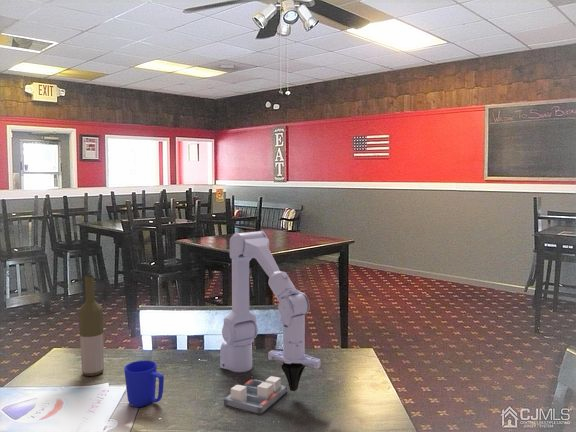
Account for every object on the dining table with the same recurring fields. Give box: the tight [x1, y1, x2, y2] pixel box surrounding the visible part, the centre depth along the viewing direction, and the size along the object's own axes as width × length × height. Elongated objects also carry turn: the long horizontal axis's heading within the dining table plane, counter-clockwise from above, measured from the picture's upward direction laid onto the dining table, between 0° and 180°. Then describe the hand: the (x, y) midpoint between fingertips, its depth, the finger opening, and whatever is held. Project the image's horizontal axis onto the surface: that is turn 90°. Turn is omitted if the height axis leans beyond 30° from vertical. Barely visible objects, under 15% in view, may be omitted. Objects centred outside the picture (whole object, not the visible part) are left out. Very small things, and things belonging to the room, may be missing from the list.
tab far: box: [265, 375, 282, 392], centre depth 135 cm, size 3×3×4 cm
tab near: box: [230, 384, 247, 402], centre depth 129 cm, size 3×3×4 cm
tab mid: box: [257, 381, 273, 399], centre depth 131 cm, size 3×3×4 cm
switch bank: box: [223, 378, 288, 414], centre depth 132 cm, size 11×14×3 cm
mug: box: [123, 360, 165, 408], centre depth 131 cm, size 8×12×10 cm
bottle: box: [78, 274, 105, 377], centre depth 150 cm, size 7×7×30 cm
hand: (293, 389), depth 132 cm, fingers closed
